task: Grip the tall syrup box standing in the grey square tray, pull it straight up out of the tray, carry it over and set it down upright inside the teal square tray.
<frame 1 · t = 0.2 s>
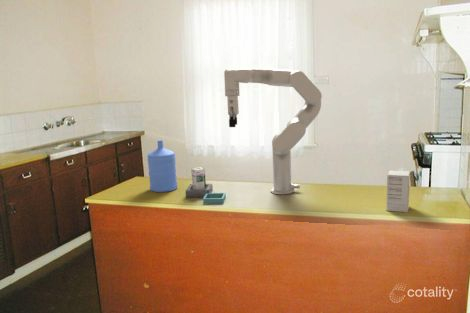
hand: (233, 125, 228), 37 cm above the counter, tool pointing down, fingers open, 9 cm apart
grey square tray: (199, 194, 236), on the counter
syrup box: (199, 194, 236), resting in grey square tray
water jug: (164, 189, 250), on the counter
teal square tray: (214, 200, 223), on the counter
supplement box: (397, 208, 198), on the counter
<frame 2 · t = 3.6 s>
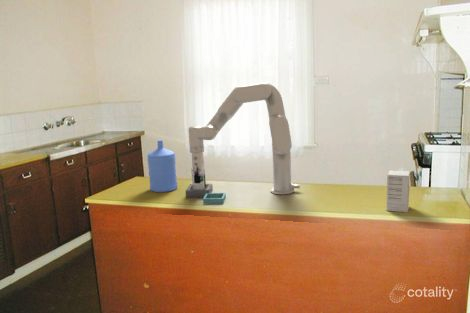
hand: (198, 180, 234), 7 cm above the counter, tool pointing down, fingers closed on syrup box, 7 cm apart
syrup box: (199, 194, 236), resting in grey square tray, touching gripper
everything else where it was.
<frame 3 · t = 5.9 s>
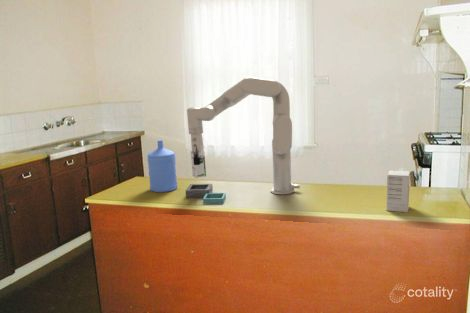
hand: (198, 162, 232), 17 cm above the counter, tool pointing down, fingers closed on syrup box, 7 cm apart
syrup box: (199, 176, 234), point 10 cm above the counter, touching gripper
everything else where it was.
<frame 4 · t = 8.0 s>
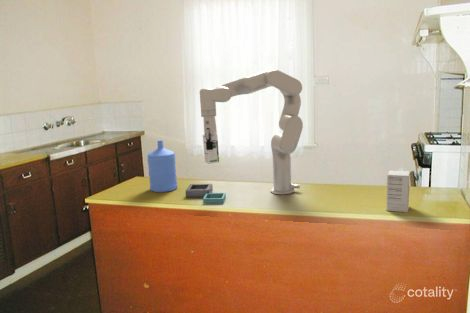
hand: (211, 147, 219), 27 cm above the counter, tool pointing down, fingers closed on syrup box, 7 cm apart
syrup box: (211, 162, 220), point 20 cm above the counter, touching gripper
everything else where it was.
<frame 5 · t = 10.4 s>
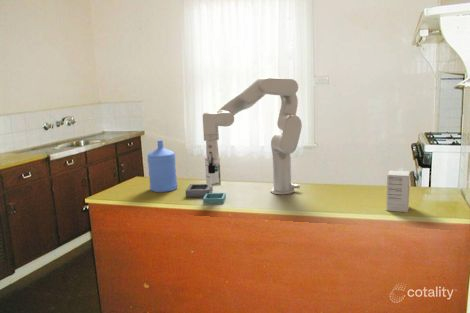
hand: (212, 171, 220), 16 cm above the counter, tool pointing down, fingers closed on syrup box, 7 cm apart
syrup box: (213, 185, 222), point 8 cm above the counter, touching gripper
everything else where it was.
when the fingers open (9 cm above the counter, at t = 12.4 s): syrup box drops 1 cm, resting in teal square tray.
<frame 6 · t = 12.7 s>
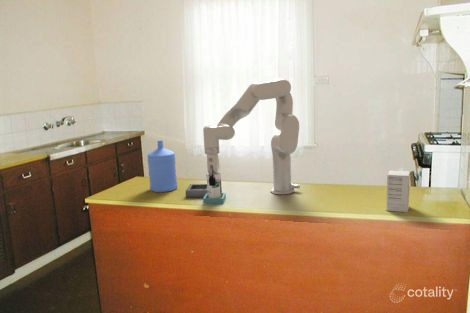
hand: (213, 183, 221), 9 cm above the counter, tool pointing down, fingers open, 9 cm apart
syrup box: (215, 200, 223), resting in teal square tray
everything else where it was.
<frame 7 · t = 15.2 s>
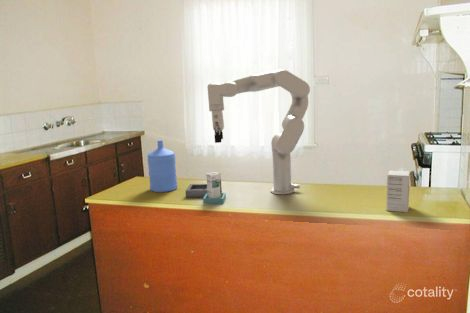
hand: (219, 140, 224), 30 cm above the counter, tool pointing down, fingers open, 9 cm apart
nothing on the counter moved.
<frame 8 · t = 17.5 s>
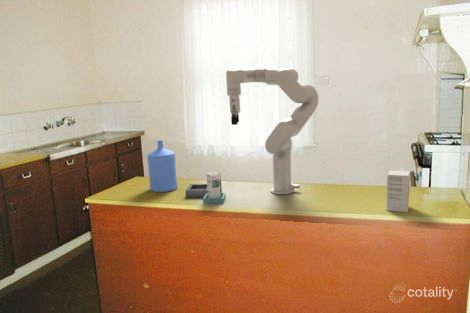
hand: (235, 123, 240), 36 cm above the counter, tool pointing down, fingers open, 9 cm apart
nothing on the counter moved.
at the end: syrup box 0.2 cm off-centre on the teal square tray, point 0.0 cm above the teal square tray's base; syrup box tilted 0°; the gripper is holding nothing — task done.
